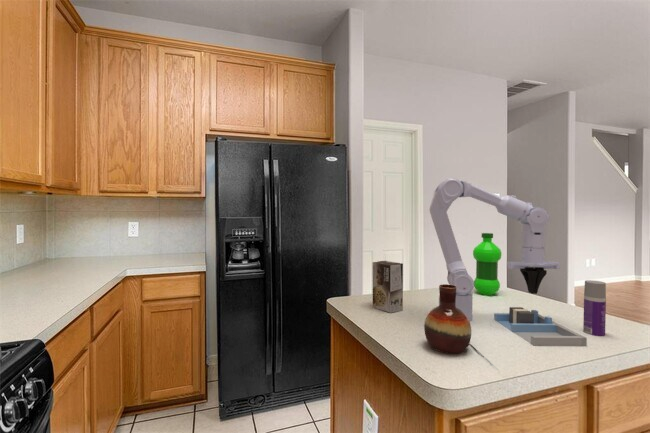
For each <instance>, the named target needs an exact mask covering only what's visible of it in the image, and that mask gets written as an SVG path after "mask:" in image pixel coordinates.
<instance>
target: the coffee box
mask: <svg viewBox="0 0 650 433" xmlns="http://www.w3.org/2000/svg"><path fill="white" fill-rule="evenodd" d="M371 269H372V308H374V309H377V310H381V311H383V312H387V313H389V314H391V313H396V312H400V311H401V312H402V311H403V309H404V305H403V304H404V303H403V302H404V300H403V299H404V292H403V291H404V290H403V288H404V284H403V283H404V263H400V262H395V261H390V260H389V261H388V260H380V261H379V260H378V261H373V262H372V268H371Z"/></svg>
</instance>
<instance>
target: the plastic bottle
mask: <svg viewBox="0 0 650 433" xmlns="http://www.w3.org/2000/svg"><path fill="white" fill-rule="evenodd" d="M481 238H482V242H480V243H479V244H478V245H476V246H475V247H474V248H473V250H472V255H473V258H474V259H475V260H476V262H475V263H476V265H475V266H476V267H475V268H476V269H475V270H476V271H475V272H476V273H475V274H476V275H475V278H474V279H473V281H474V289H475V290H476V291H477V292H478V293H479V294H480V295H482V296H494V294H496V293H497V292H498V291H499V290H500V288H501V283H500V281H499V279H498V275H499V274H498V273H499V270H498V266H499V265H498V264H499V261H500V260H501V258H502V250H501V249H500V248H499V246H497V244H495V243H494V242H492V239H493V238H494V233H492V232H481Z"/></svg>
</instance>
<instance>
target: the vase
mask: <svg viewBox="0 0 650 433" xmlns="http://www.w3.org/2000/svg"><path fill="white" fill-rule="evenodd" d="M438 287H439V288H438V289H439V290H438V291H439V295H440V305H439V304H438V306H435V307H434V308H432V309H430V311H429V312H428V313H427V315H426V317H425V319H424V325H423V327H424V329H423V330H424V336H425V339H426V341H427V343H428V344H429V346H430V347H431V349H433V350H435V351H437V352H440V353H443V354H449V355H451V354H452V355H455V354H457V355H458V354H460V353H463V352H465V351H466V350H467V349H468V347H469V344H470V343H471V339H472V326H471V321H470V322H469V320H468V318H467V316H466V315H465V314H464V313H463V312H462V311H461V310H460V309H458V308H456V290H457V287H456V286H454V285H450V284H440V285H438Z"/></svg>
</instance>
